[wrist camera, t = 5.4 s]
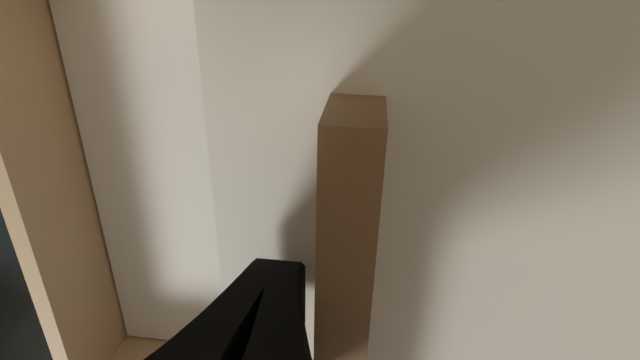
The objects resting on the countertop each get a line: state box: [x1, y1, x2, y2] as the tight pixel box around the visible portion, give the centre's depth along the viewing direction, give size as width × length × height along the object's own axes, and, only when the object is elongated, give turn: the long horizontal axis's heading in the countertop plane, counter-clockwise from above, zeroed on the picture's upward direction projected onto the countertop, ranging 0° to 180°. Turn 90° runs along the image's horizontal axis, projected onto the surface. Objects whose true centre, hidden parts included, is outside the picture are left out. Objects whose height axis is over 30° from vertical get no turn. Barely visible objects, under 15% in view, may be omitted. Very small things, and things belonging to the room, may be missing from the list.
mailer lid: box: [193, 0, 640, 360], centre depth 11 cm, size 16×12×3 cm
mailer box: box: [0, 0, 222, 360], centre depth 14 cm, size 16×12×4 cm
